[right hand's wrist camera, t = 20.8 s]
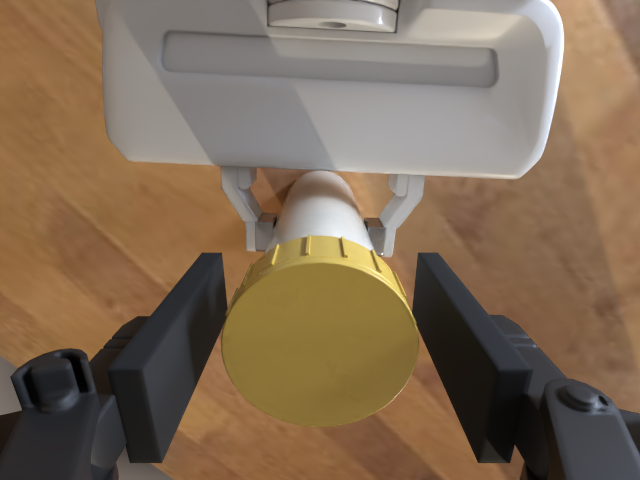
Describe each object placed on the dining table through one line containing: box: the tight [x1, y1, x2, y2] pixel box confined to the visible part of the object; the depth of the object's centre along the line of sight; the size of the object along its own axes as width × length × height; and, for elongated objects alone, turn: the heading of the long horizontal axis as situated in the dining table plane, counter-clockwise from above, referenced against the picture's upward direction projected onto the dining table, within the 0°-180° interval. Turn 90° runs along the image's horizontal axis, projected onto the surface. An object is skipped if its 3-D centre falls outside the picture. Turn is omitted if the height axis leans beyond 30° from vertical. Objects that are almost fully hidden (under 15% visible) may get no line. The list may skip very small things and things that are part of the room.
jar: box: [264, 171, 375, 254], centre depth 18 cm, size 5×5×16 cm
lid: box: [221, 234, 419, 427], centre depth 11 cm, size 6×6×2 cm
